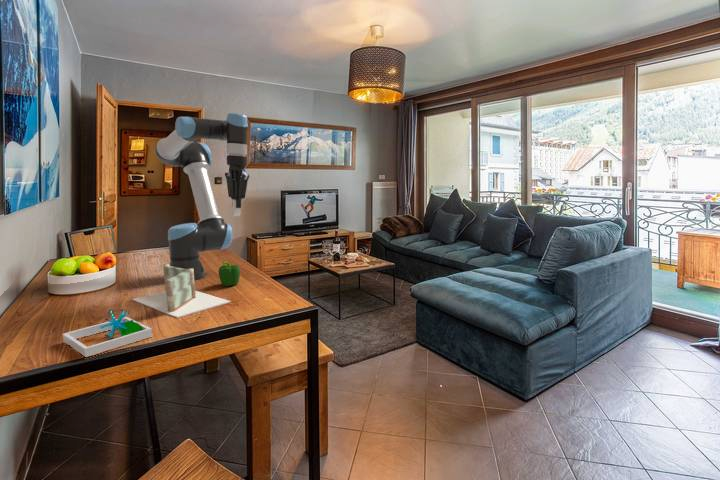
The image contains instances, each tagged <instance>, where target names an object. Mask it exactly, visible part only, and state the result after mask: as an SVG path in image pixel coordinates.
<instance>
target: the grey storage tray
mask: <svg viewBox="0 0 720 480" xmlns="http://www.w3.org/2000/svg"><path fill="white" fill-rule="evenodd" d="M115 319H116V318H115ZM118 319H119V318H117V319H116V320H118ZM131 320H133V321H134V322H136V323H139V324H140V325H141V328H142V331H139V332H135V333H132V334H129V335H125V336H122V337H121V336H119V337H116V338H113V339H110V340H106V341H103V342H102V341H101V342H99V343H96V344H93V345H89V346H86V345H85V344H84V343H82V342H81V341H79V340H76V339H77V338H81V337H84V336H89V335H92V334H96V333H99V332H103V331H107V332H109V331H108V330H112V328H113V326H108V327H104V328H100V326H104V325H107V324H110V323H111V322H109V321H105V322H102V323H101V322H100V323H98V324H95V325H91V326H87V327H86V326H85V327H83V328H79V329H76V330H72V331H68V332H64V333H62V340H63V343H64V342H66V343H67V344H68V345H70V346H71V347H73V348H74V349H75V350H77V351H78V352H80V353H81V354H82V355H84V356H85V357H87V356H90V355H93V354H96V353H100V352H103V351H106V350H109V349H113V348H116V347H119V346H122V345H126V344H129V343H133V342H136V341H139V340H142V339H145V338H149V337H152V338H153V329H152V328H151V327H150V326H147V325H145V324H143V323H141V322H139V321H137V320H135V319H132V318H130V317H128V316H124V317H123V318H122V320H121V323H122V322H127V321H131ZM149 339H150V338H149ZM133 344H134V343H133Z"/></svg>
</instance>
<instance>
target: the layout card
mask: <svg viewBox="0 0 720 480" xmlns="http://www.w3.org/2000/svg"><path fill="white" fill-rule="evenodd" d="M195 294H196V298H191V299H189V300H188V301H186V302H185V303H183V304H182V305H180V306H179V307H177V308H176V309H175V310H173V311H168V306H167V294H166V290H164V291H161V292H157V293H152V294H148V295H144V296H140V297H135V298H132V301H134V302H137V303H139V304H142V305H144V306H146V307H149V308H151V309H155V310H157V311H158V312H160V313H161V312H162V313H164V314H167V315H169V316H172V317H174V318H176V319H180V318H182V317H185V316H190V315H194V314H196V313H199V312H203V311H206V310H209V309H213V308H217V307H220V306H222V305H226V304H227V305H228V304H230V303H231V300H228V299H225V298H222V297H217V296H214V295H212V294H208V293H204V292H202V291H199V290H195ZM179 317H180V318H179Z"/></svg>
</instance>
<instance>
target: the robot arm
mask: <svg viewBox="0 0 720 480" xmlns="http://www.w3.org/2000/svg"><path fill="white" fill-rule="evenodd" d="M174 125H175V126H174V130H173V131H172V132H171V133H170V134H169V135H168V136H167V137H163V138H161V139H160V140H158V141H157V142H156V144H155V146H154V153H155V156H156V158H157V159H158V160H159V161H160V162H161V163H163V164H164V165H167V166H169V167H175V168H176V167H181V168H182V169H183V172H184V173H185V174H187V176H188V178H189V179H188V180H189V183H190V186H191V187H190V188H191V190H192V195H193V198H194V202H195V206H196V210H197V213H198V217H199V221H198V222H197V223H196V222H188V223H181V224H177V225H174V226H171V227H170V228H168V230H167V241H168V252H169V266H172V267H178V268H183V269H190V268H193V269H194V281H196V280H199V279H202V278H205V277H206V272H205V271H206V270H205V269H204V266H203V263H202V262H201V259H200V253H202V252H204V253H205V252H210V251H220V250H223V249H227V248H229V247H230V246H231V244H232V240H233V228H232V226H231V224H230V223H228V222H225V219H224V217H222V216H220V213H219V210H218V206H217V203H216V202H217V201H216V199H215V196H214V192H213V188H212V187H213V186H212V184H211V180H210V176H209V173H208V170H210V166H211V165H212V163H213V158H212V153H211V149H210V147H209V146H208V145H207V144H206V143H204V142H199V141H196V140H198V139H201V140H202V139H204V140H218V141H226V154H227V155H226V165H227V166H229V167H228V172H224V176H225V180H226V186H227V194H228V197H229V198H231V206H232V217H241V214H242V213H241V210H242V209H241V208H242V200H243V199H245V198H246V193H247V187H248V182H249V181H248V180H249V179H250V174H249V173H248V174H247V173H246V168H245V167H247V165H248V157H247V155H248V126H249V124H248V117H247V115H245V114H243V113H237V112H229V113H227V115H226V119H225V120H222V119H221V120H220V119H213V118H211V119H210V118H200V117H194V116H193V117H192V116H178V117H177V118H176V120H175V124H174Z"/></svg>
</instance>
